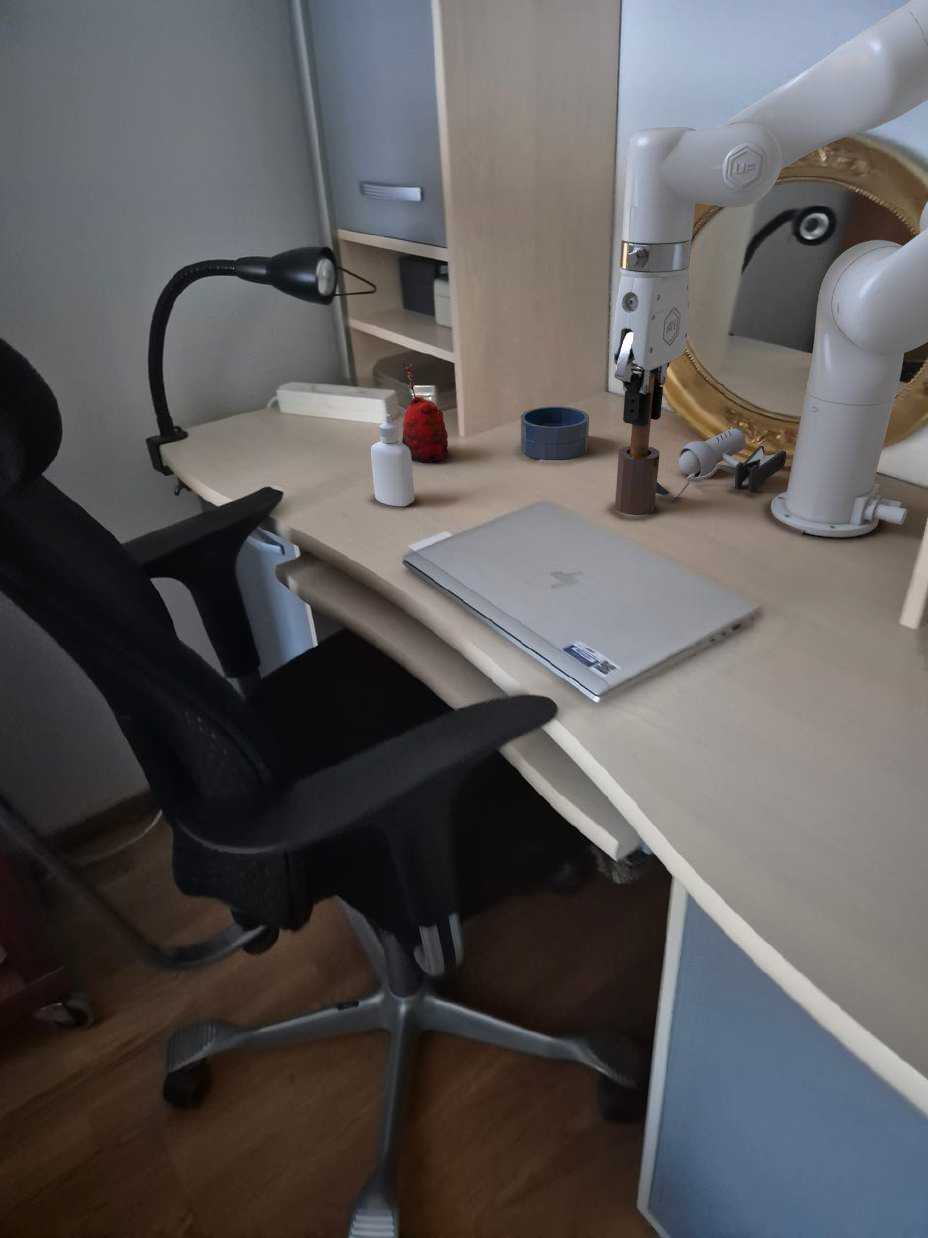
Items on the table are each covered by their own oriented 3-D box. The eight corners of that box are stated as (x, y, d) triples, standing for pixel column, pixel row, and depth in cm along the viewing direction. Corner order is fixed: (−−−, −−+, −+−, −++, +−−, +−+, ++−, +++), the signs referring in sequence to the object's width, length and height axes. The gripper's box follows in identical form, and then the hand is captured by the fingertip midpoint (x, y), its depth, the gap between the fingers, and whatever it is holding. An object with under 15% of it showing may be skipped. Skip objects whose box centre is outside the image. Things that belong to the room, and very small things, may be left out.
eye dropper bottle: (401, 490, 114) (394, 406, 108) (417, 504, 110) (411, 417, 103) (372, 497, 112) (363, 412, 106) (388, 511, 108) (380, 423, 102)
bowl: (600, 448, 125) (602, 413, 122) (562, 468, 119) (563, 432, 116) (546, 435, 131) (546, 402, 128) (507, 454, 124) (506, 419, 121)
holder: (660, 508, 106) (666, 450, 101) (641, 522, 102) (646, 462, 98) (627, 499, 108) (631, 442, 104) (607, 512, 105) (611, 453, 101)
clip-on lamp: (686, 533, 106) (790, 477, 110) (686, 493, 102) (795, 436, 106) (630, 495, 114) (729, 444, 118) (628, 456, 110) (731, 405, 114)
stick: (646, 505, 105) (658, 373, 96) (637, 511, 104) (648, 378, 95) (631, 501, 106) (641, 371, 97) (622, 507, 105) (632, 375, 96)
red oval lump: (455, 460, 123) (451, 360, 115) (411, 468, 121) (404, 367, 113) (438, 445, 129) (433, 349, 121) (396, 452, 127) (388, 355, 119)
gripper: (649, 271, 82) (635, 445, 92) (718, 250, 92) (699, 409, 102) (586, 265, 86) (579, 433, 96) (659, 246, 97) (646, 399, 106)
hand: (641, 419), depth 99 cm, fingers closed on stick, 2 cm apart
